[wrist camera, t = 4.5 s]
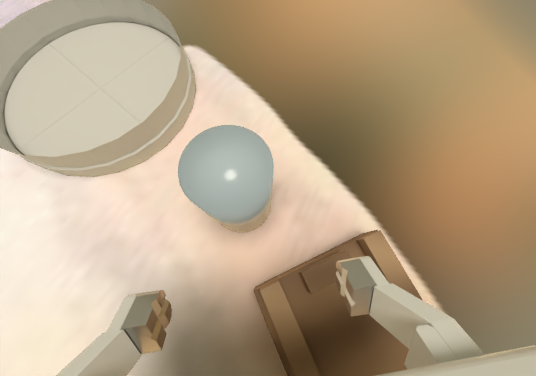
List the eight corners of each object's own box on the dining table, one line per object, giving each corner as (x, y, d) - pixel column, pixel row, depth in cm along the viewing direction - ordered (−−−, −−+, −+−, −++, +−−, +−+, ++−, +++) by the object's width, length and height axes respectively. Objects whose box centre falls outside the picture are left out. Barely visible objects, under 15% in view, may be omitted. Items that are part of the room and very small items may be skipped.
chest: (436, 360, 19) (492, 394, 14) (315, 435, 18) (333, 500, 13) (363, 233, 23) (389, 226, 18) (255, 286, 21) (252, 295, 16)
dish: (-19, 103, 27) (-79, 71, 23) (123, 8, 33) (98, -34, 28) (88, 218, 23) (42, 208, 18) (232, 88, 28) (226, 54, 24)
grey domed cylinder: (280, 217, 23) (289, 188, 13) (226, 242, 22) (196, 229, 13) (257, 169, 25) (250, 112, 15) (206, 190, 24) (166, 145, 14)
